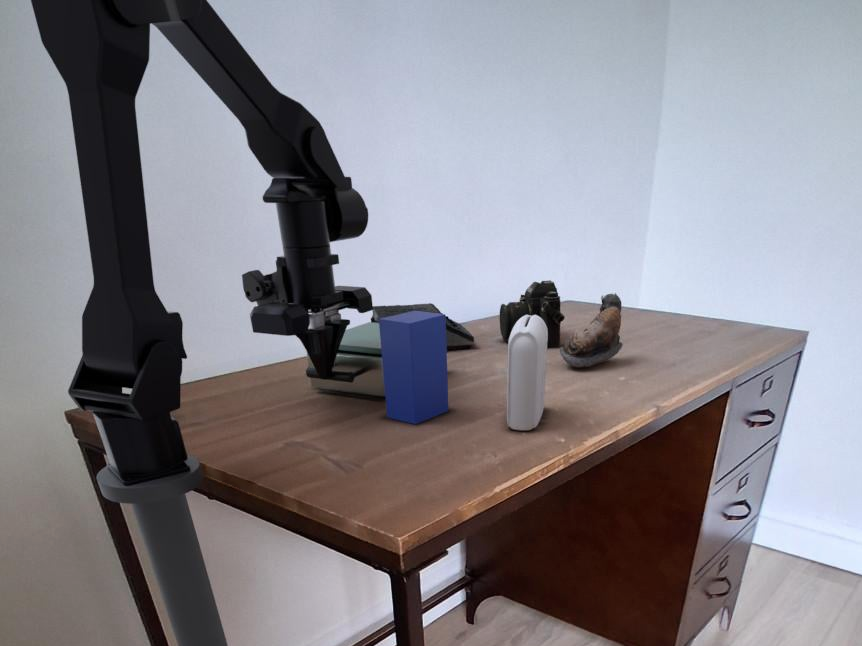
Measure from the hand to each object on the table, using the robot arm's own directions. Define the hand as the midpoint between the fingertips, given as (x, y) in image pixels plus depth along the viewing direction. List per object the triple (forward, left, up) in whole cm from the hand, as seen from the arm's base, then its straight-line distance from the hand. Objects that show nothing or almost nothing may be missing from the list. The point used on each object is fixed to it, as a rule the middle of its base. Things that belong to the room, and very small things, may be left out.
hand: (324, 378), depth 90 cm
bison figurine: (+45, -7, -4) cm, 46 cm away
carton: (+7, -11, -4) cm, 14 cm away
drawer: (+9, +4, -3) cm, 10 cm away
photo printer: (+17, -22, -4) cm, 28 cm away
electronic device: (+32, +23, -4) cm, 40 cm away
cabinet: (+13, +7, -4) cm, 15 cm away
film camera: (+50, +13, -4) cm, 52 cm away
